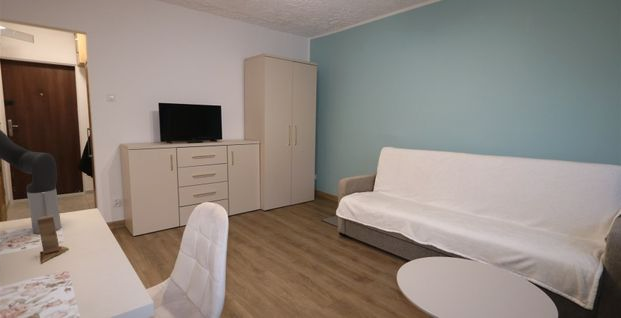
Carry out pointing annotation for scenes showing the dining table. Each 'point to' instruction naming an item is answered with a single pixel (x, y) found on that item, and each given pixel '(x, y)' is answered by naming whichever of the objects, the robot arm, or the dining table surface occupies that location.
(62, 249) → the shard
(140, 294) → the dining table surface
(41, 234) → the pillar
